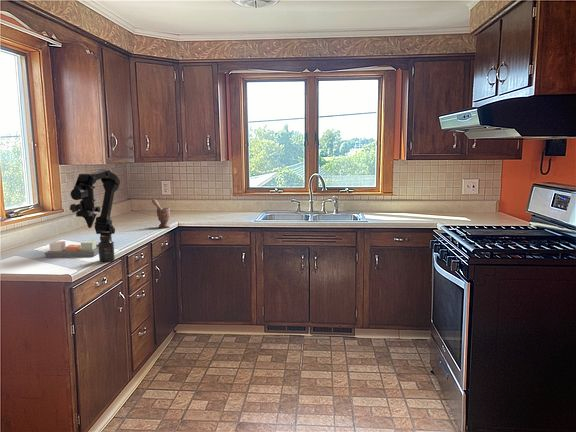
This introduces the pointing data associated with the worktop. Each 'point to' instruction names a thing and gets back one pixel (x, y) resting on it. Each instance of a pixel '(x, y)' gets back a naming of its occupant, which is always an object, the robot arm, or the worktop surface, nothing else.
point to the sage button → (88, 245)
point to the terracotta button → (73, 247)
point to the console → (72, 253)
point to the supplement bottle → (106, 249)
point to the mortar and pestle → (162, 215)
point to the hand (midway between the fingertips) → (89, 227)
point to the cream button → (57, 246)
